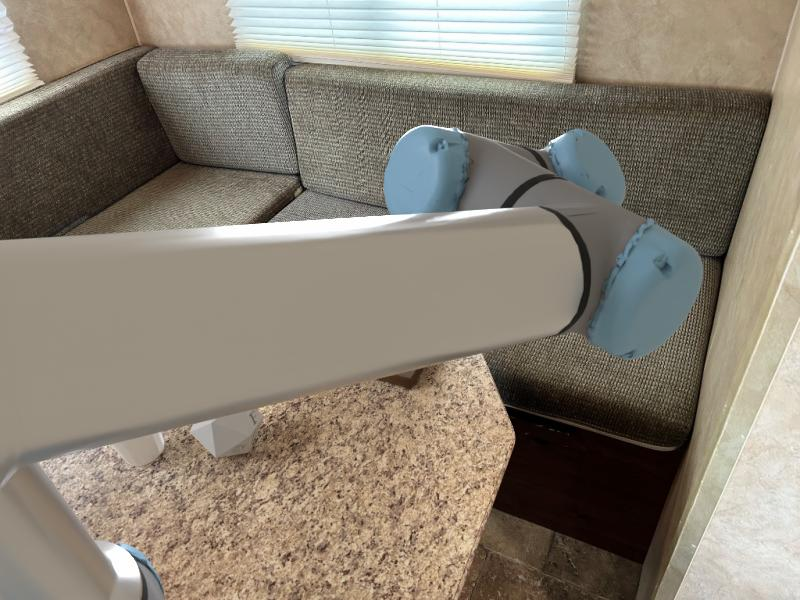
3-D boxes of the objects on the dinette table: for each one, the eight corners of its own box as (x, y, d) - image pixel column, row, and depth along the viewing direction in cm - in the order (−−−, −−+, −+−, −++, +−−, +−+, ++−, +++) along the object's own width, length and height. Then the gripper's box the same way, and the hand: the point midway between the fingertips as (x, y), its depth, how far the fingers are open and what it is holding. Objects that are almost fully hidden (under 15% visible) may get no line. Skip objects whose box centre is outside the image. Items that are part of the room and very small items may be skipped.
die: (227, 484, 81) (258, 431, 78) (170, 450, 81) (198, 395, 77) (252, 449, 89) (281, 399, 86) (200, 418, 89) (227, 366, 85)
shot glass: (149, 475, 83) (130, 443, 78) (108, 464, 85) (88, 432, 80) (178, 435, 88) (162, 403, 83) (139, 426, 90) (122, 394, 85)
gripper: (463, 342, 53) (332, 409, 69) (529, 227, 66) (405, 307, 82) (403, 281, 52) (285, 365, 68) (482, 176, 64) (367, 268, 81)
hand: (351, 333), depth 75 cm, fingers closed on beverage can, 6 cm apart
